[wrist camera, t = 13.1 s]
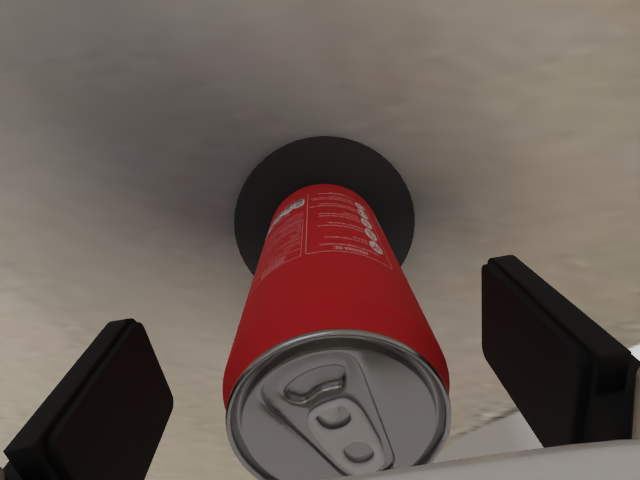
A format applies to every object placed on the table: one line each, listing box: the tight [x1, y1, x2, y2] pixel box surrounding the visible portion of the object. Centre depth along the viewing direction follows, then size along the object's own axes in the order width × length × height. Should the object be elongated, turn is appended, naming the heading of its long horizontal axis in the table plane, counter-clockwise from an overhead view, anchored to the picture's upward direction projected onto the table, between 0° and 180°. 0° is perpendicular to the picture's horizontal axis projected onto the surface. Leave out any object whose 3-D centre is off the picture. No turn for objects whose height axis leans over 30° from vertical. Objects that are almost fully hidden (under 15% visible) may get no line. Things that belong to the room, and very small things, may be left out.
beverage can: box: [223, 184, 451, 480], centre depth 14 cm, size 5×5×12 cm
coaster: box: [234, 136, 414, 275], centre depth 19 cm, size 9×9×1 cm
